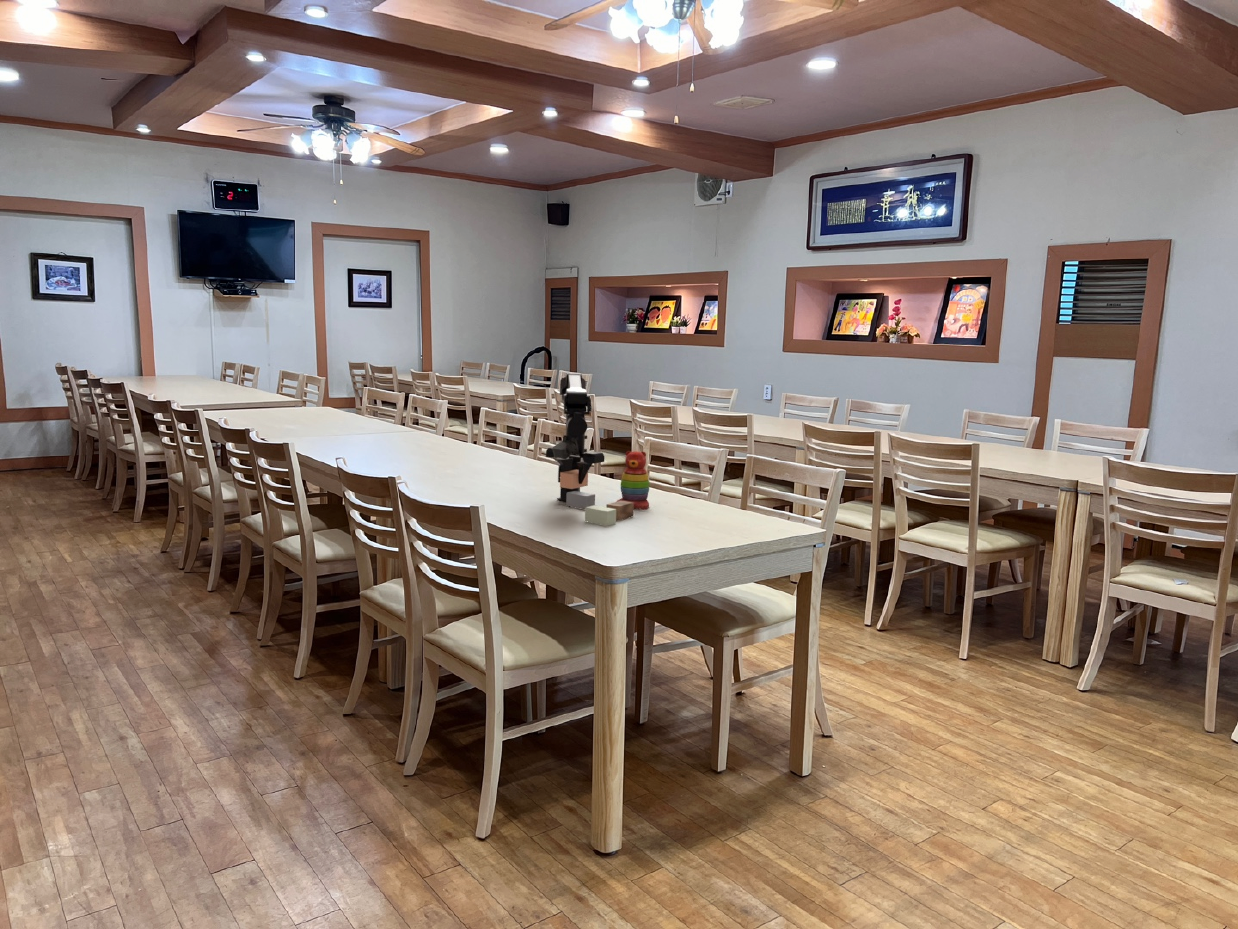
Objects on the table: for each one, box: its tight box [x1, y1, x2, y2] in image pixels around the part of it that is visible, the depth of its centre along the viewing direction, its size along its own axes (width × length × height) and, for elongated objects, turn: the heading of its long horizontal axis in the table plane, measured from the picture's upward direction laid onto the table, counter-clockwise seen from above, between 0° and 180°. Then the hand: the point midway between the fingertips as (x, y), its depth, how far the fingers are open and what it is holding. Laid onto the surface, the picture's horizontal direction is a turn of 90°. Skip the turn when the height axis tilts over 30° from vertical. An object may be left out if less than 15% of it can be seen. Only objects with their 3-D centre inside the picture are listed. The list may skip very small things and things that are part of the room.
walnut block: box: [605, 500, 635, 522], centre depth 265 cm, size 8×4×4 cm, turn 145°
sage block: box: [584, 504, 617, 527], centre depth 257 cm, size 8×4×4 cm, turn 55°
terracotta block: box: [559, 470, 589, 489], centre depth 267 cm, size 8×4×4 cm, turn 145°
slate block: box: [565, 491, 596, 510], centre depth 278 cm, size 8×4×4 cm, turn 55°
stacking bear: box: [615, 450, 650, 510], centre depth 283 cm, size 11×10×18 cm
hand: (574, 482), depth 268 cm, fingers closed on terracotta block, 4 cm apart
